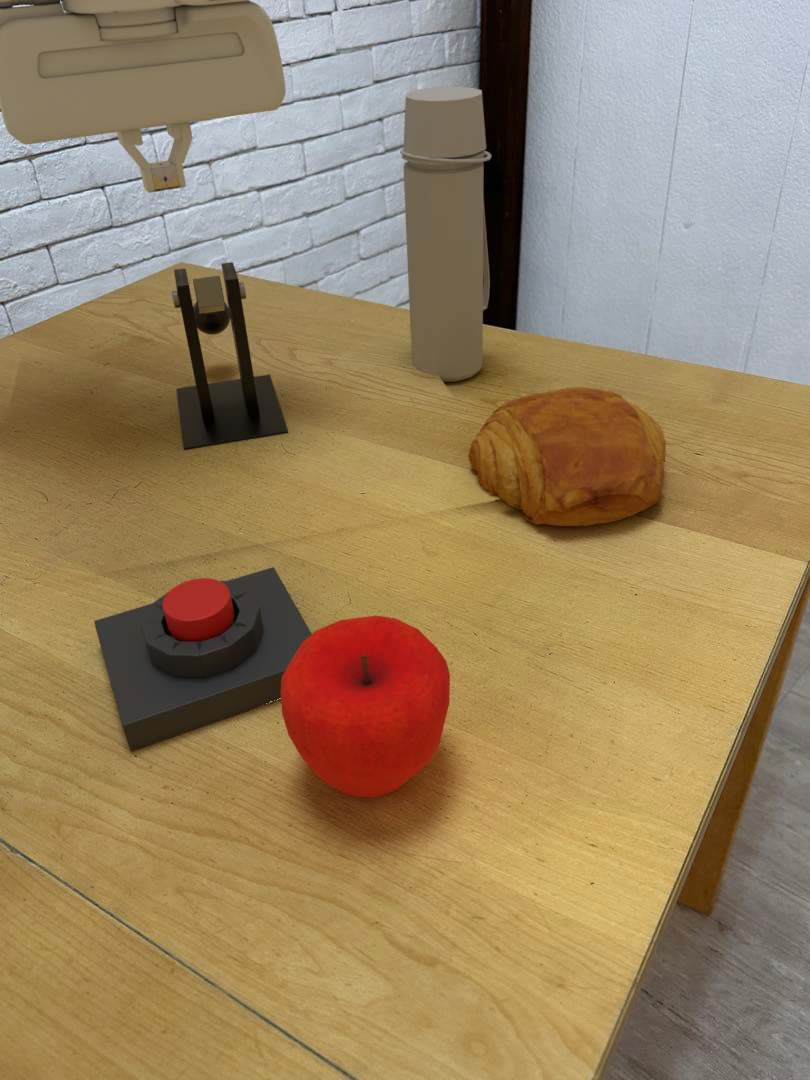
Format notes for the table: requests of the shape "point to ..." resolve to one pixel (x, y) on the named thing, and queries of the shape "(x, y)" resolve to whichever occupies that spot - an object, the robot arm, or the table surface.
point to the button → (198, 610)
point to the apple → (366, 703)
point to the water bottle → (446, 229)
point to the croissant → (571, 457)
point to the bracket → (226, 404)
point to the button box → (200, 661)
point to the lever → (210, 305)
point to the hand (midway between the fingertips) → (165, 188)
